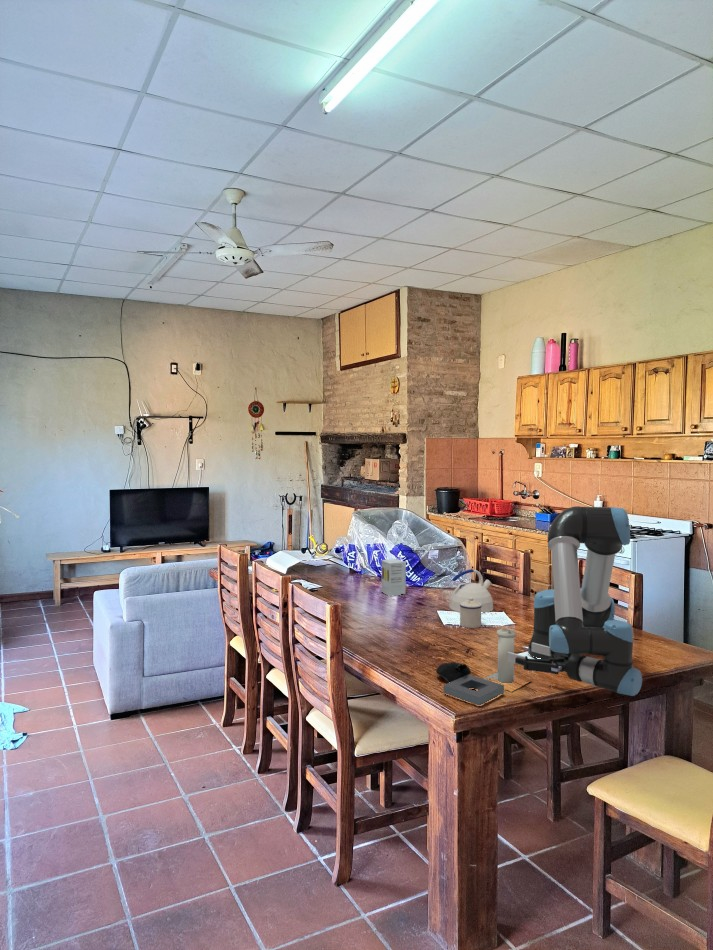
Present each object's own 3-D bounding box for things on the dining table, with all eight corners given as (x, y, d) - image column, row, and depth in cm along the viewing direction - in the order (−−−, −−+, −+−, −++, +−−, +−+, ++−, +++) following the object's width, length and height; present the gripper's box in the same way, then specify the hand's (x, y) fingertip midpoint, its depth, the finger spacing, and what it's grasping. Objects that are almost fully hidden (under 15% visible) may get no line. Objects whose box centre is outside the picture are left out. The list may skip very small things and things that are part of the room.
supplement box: (380, 592, 327) (381, 559, 326) (396, 590, 330) (397, 558, 329) (389, 596, 318) (389, 563, 317) (406, 595, 322) (406, 561, 321)
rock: (460, 699, 208) (432, 687, 207) (462, 674, 216) (435, 662, 215) (474, 685, 202) (446, 672, 201) (476, 659, 210) (448, 647, 209)
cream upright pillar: (502, 676, 211) (503, 627, 210) (518, 680, 207) (519, 631, 206) (492, 680, 207) (493, 631, 206) (508, 685, 203) (509, 635, 202)
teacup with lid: (485, 627, 266) (485, 599, 266) (465, 629, 264) (465, 601, 263) (472, 619, 278) (473, 593, 277) (453, 621, 276) (453, 594, 275)
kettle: (503, 611, 292) (503, 572, 291) (463, 615, 285) (463, 575, 284) (478, 600, 311) (479, 563, 310) (440, 604, 303) (441, 566, 302)
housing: (468, 683, 205) (468, 674, 205) (503, 695, 196) (504, 685, 196) (443, 694, 196) (443, 685, 196) (479, 707, 187) (479, 697, 187)
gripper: (562, 693, 178) (497, 673, 193) (604, 671, 195) (541, 654, 211) (563, 666, 178) (497, 648, 193) (604, 646, 195) (541, 631, 210)
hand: (520, 651), depth 202 cm, fingers open, 13 cm apart
